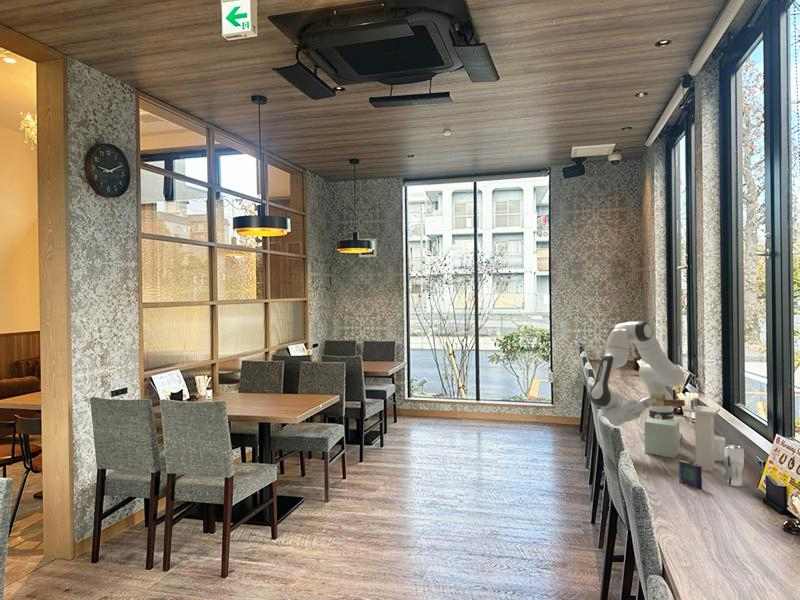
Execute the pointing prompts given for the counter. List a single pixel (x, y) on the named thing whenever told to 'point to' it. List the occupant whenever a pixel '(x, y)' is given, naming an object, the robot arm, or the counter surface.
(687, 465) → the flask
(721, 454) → the white cup
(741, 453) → the beer glass
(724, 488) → the counter surface
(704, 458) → the tall stand
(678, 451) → the sage pedestal
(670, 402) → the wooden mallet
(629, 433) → the counter surface
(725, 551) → the counter surface
